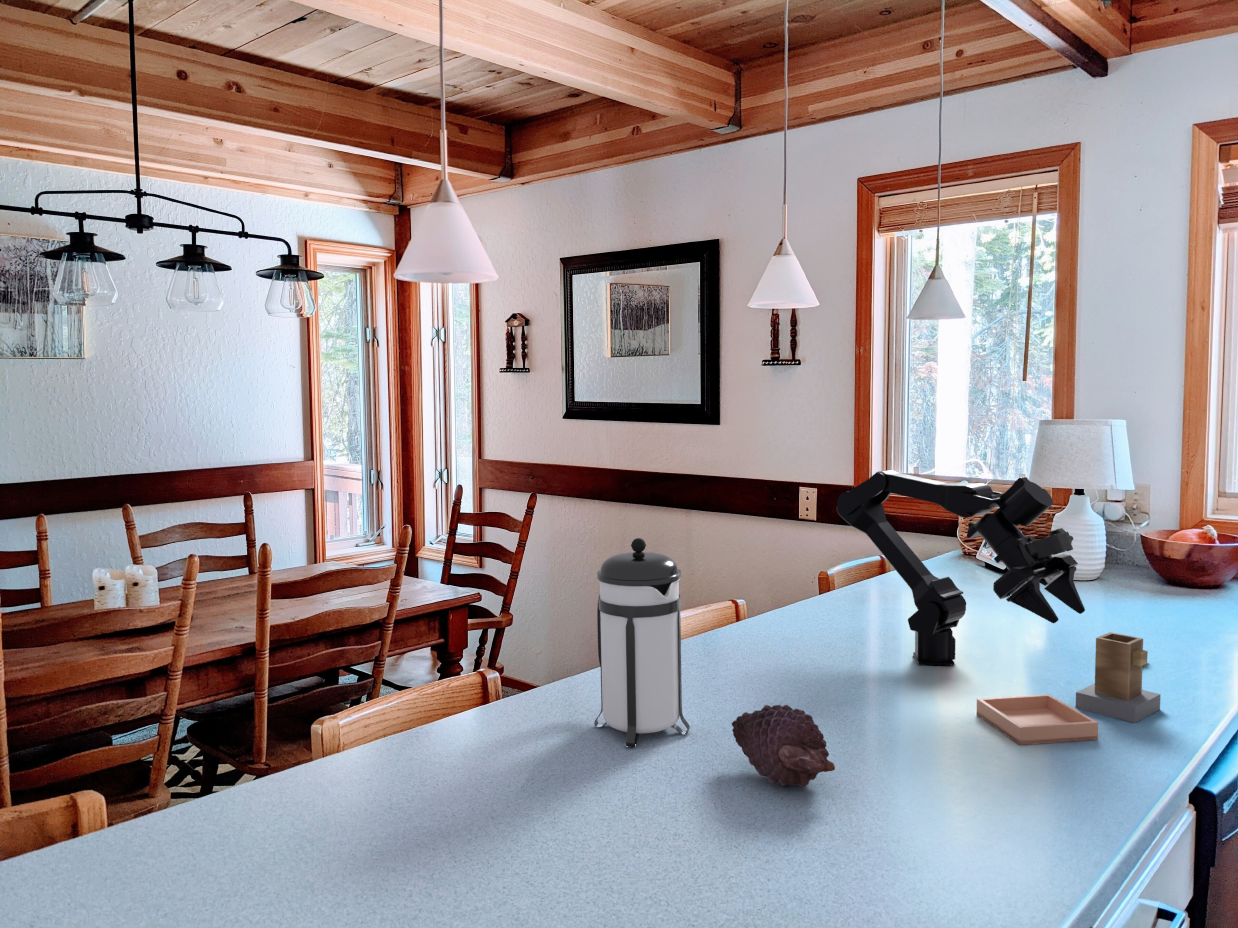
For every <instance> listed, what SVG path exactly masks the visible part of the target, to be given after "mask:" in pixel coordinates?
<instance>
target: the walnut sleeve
mask: <svg viewBox="0 0 1238 928" xmlns="http://www.w3.org/2000/svg"><path fill="white" fill-rule="evenodd" d="M1148 653H1149V652H1148V650H1145V649H1144V638H1142V637H1136V636H1133V635H1132V636H1131V635H1128V634H1127V635H1126V634H1123V633H1122V634H1121V633H1117V632H1111V631H1110V632H1107V633H1104V634H1102V635H1100V636H1097V637H1095V659H1094V660H1095V664H1094V665H1095V667H1094V684H1095V693H1098V694H1102V695H1106V696H1110V697H1114V698H1118V699H1122V700H1126V701H1128V700H1130V699H1132V698H1134V697H1136V696H1138V695H1140V694H1142V690H1143V689H1142V688H1143V666H1144V665H1147V664H1148Z"/></svg>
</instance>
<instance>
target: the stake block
mask: <svg viewBox="0 0 1238 928" xmlns="http://www.w3.org/2000/svg"><path fill="white" fill-rule="evenodd" d="M1075 708H1077V709H1081V710H1084V711H1088V712H1092V713H1096V714H1100V715H1103V716H1107V717H1110V718H1115V719H1117V720H1118V719H1119V720H1122V721H1126V722H1129V723H1133V724H1136V723H1138V722H1140V721H1142V720H1143V719H1146V718H1147V717H1149V716H1151V715H1153V714H1154V713H1156V712H1158V711H1160V710H1161V693H1157V692H1153V691H1149V690H1145V689H1142V694H1140V695H1138V696H1136V697H1134V698H1132V699H1130V700H1128V701H1126V700H1122V699H1118V698H1114V697H1110V696H1106V695H1102V694H1098V693H1095V683H1092V684H1090V685H1088V686H1086V687H1084V688H1081V689H1080V690H1077V691H1076V692H1075Z"/></svg>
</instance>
